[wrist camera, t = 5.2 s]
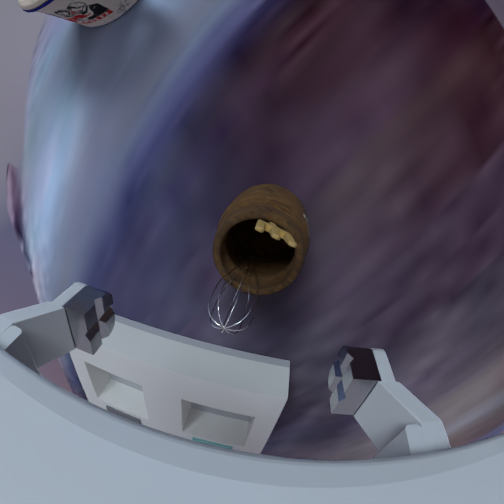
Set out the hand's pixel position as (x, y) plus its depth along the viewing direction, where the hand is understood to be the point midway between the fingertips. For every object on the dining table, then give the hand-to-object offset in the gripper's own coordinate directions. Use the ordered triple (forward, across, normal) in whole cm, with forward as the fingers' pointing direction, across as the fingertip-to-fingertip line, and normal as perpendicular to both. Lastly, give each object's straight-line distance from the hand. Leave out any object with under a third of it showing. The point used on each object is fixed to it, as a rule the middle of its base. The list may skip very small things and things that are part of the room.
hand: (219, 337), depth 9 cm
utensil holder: (+14, -1, 0) cm, 14 cm away
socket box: (+14, +6, +22) cm, 27 cm away
